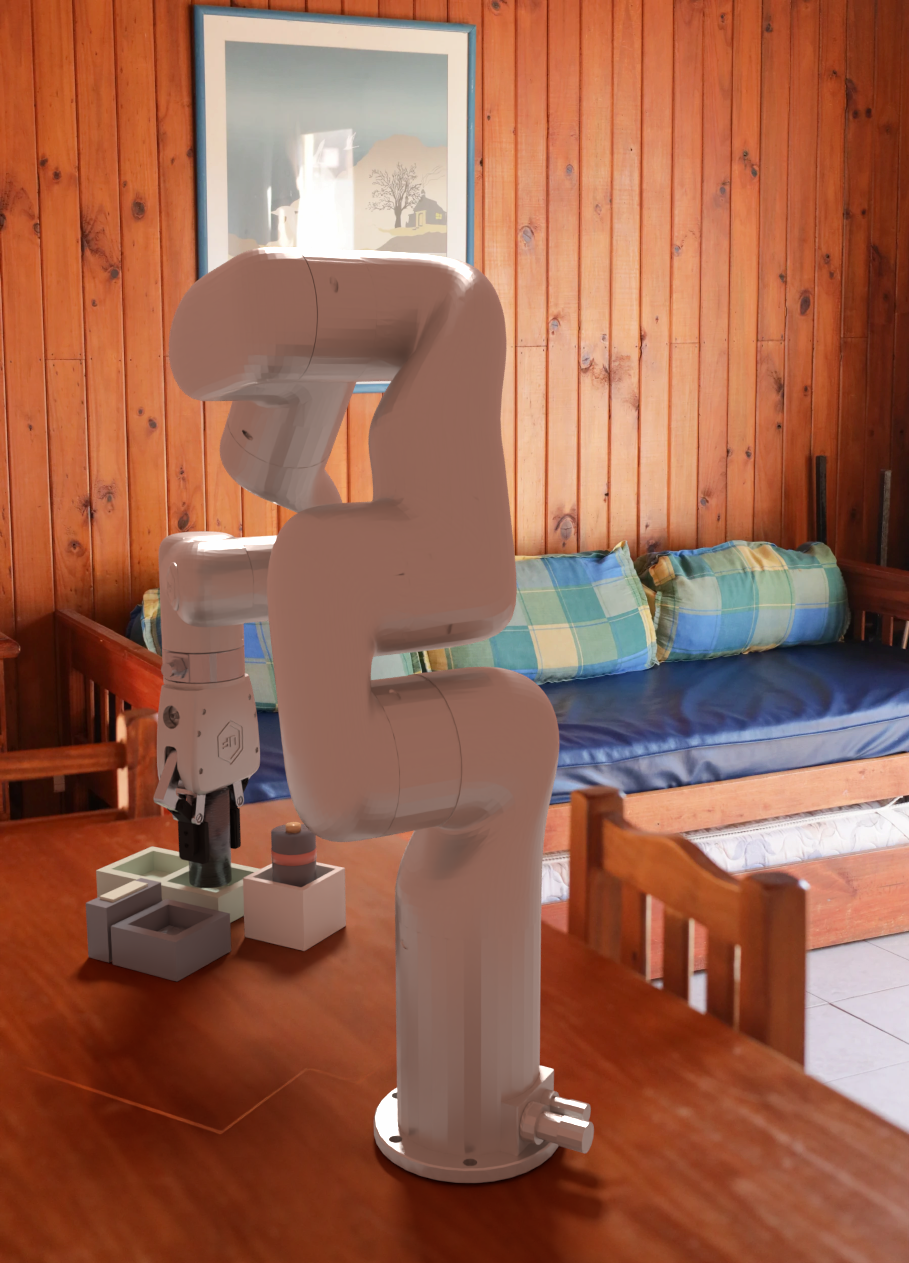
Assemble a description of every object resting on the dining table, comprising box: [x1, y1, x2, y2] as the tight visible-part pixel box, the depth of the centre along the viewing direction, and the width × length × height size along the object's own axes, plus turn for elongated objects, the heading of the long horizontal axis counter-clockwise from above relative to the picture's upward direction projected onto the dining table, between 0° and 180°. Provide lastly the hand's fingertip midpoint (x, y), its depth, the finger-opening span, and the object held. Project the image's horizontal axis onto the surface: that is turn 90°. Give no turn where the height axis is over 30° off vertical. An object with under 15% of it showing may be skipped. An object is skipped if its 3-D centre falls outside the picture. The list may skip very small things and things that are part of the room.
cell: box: [186, 786, 232, 888], centre depth 129 cm, size 4×4×10 cm
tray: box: [95, 846, 261, 924], centre depth 131 cm, size 15×8×3 cm, turn 61°
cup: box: [243, 821, 347, 952], centre depth 123 cm, size 7×7×10 cm
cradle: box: [85, 878, 232, 983], centre depth 118 cm, size 10×7×5 cm
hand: (210, 851), depth 129 cm, fingers closed on cell, 4 cm apart
